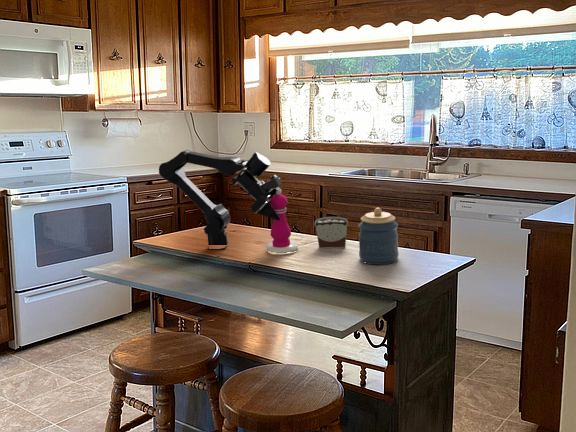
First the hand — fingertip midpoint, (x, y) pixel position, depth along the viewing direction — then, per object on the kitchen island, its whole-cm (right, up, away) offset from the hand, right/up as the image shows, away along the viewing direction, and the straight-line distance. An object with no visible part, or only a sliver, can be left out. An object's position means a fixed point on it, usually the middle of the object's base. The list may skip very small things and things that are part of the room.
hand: (283, 216), depth 226 cm
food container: (+18, -11, +6) cm, 21 cm away
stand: (0, -12, +3) cm, 13 cm away
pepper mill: (-1, -10, +3) cm, 11 cm away
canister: (+32, -14, -12) cm, 37 cm away
